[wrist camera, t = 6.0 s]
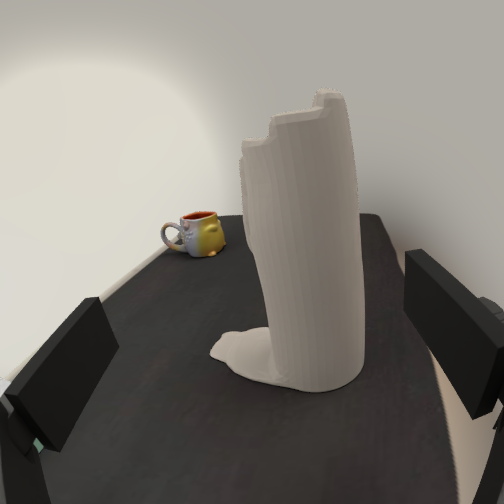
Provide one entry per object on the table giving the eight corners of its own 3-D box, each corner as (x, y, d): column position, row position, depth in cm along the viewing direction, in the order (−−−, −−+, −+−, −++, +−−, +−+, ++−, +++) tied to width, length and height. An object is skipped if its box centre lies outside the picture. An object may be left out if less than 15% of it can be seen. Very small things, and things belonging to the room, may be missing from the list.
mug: (233, 243, 57) (225, 206, 55) (216, 258, 52) (207, 218, 49) (177, 246, 62) (168, 213, 60) (157, 260, 56) (147, 225, 54)
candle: (234, 322, 33) (189, 119, 26) (371, 339, 26) (352, 87, 19) (192, 366, 27) (126, 128, 20) (351, 399, 20) (324, 73, 13)
